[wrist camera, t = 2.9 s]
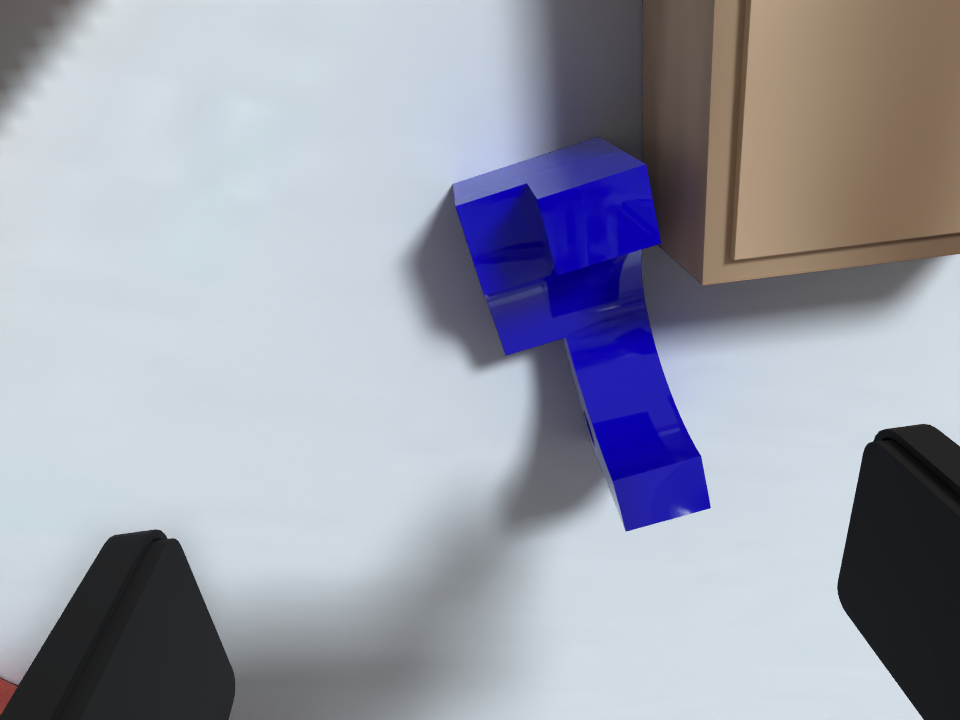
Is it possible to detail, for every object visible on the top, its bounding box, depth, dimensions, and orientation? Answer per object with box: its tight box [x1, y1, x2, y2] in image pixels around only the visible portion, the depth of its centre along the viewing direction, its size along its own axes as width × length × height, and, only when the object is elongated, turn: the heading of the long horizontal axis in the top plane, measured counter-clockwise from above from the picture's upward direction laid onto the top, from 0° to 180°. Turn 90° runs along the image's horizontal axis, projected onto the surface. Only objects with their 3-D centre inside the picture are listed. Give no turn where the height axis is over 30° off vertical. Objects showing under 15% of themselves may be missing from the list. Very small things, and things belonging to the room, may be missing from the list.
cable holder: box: [453, 137, 711, 531], centre depth 15 cm, size 8×4×4 cm, turn 17°
